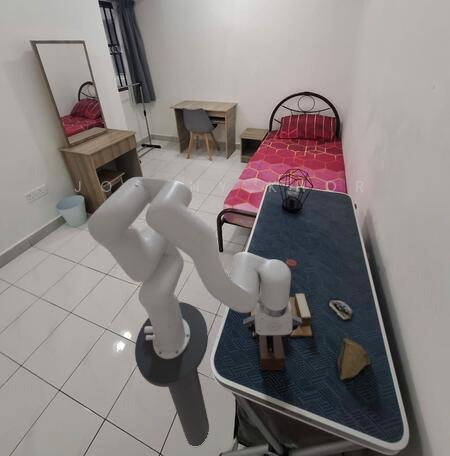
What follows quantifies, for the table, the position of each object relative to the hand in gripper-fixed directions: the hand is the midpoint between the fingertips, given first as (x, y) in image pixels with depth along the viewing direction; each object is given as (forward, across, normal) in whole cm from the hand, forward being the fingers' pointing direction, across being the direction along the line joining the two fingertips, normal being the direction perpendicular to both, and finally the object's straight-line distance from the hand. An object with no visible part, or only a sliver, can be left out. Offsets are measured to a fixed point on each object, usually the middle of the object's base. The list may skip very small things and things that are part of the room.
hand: (271, 336), depth 71 cm
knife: (+10, 0, 0) cm, 10 cm away
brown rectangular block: (+10, +13, +12) cm, 21 cm away
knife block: (+11, 0, 0) cm, 11 cm away
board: (+11, +5, +12) cm, 17 cm away
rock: (+12, +25, -3) cm, 28 cm away
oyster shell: (+12, +28, +14) cm, 33 cm away
